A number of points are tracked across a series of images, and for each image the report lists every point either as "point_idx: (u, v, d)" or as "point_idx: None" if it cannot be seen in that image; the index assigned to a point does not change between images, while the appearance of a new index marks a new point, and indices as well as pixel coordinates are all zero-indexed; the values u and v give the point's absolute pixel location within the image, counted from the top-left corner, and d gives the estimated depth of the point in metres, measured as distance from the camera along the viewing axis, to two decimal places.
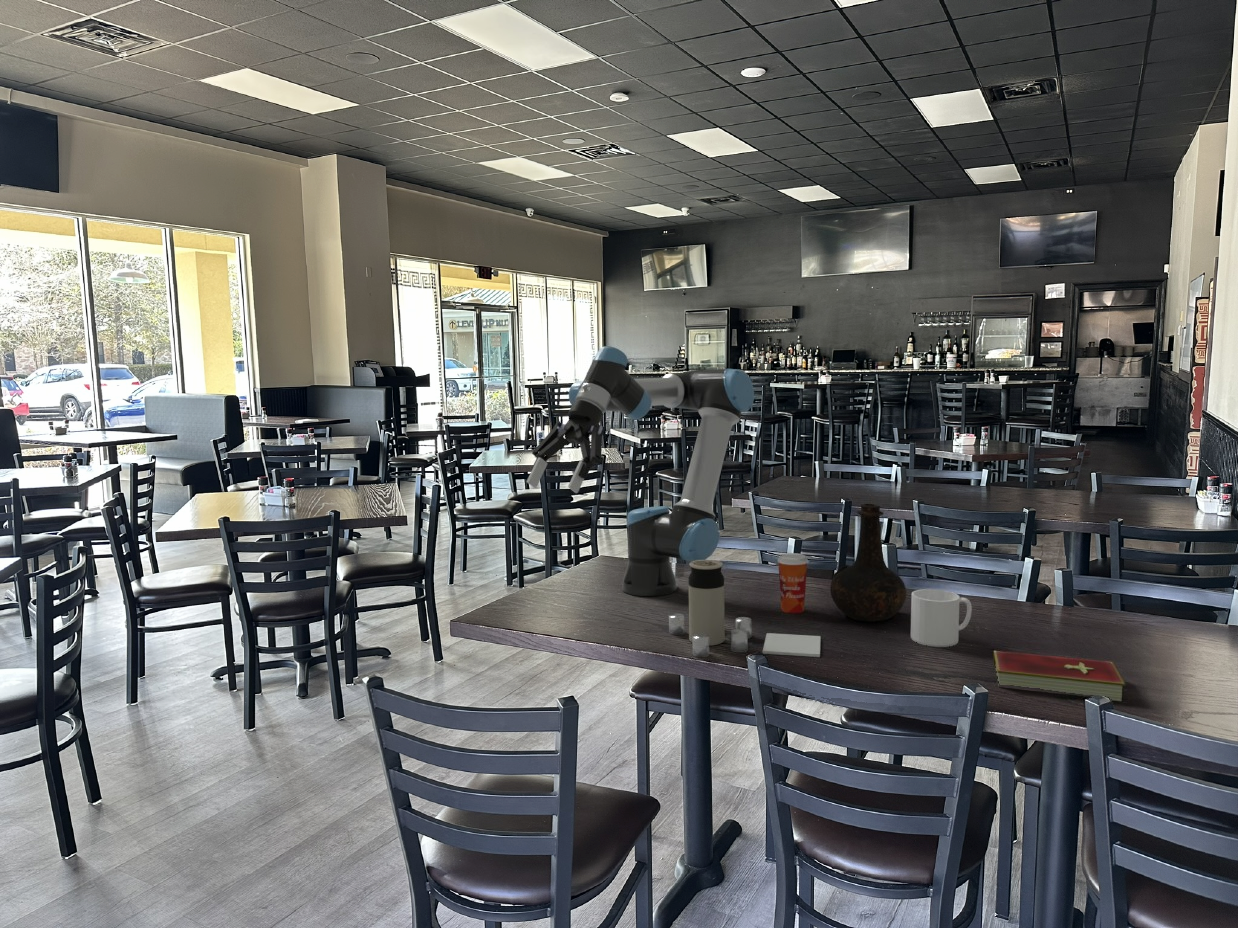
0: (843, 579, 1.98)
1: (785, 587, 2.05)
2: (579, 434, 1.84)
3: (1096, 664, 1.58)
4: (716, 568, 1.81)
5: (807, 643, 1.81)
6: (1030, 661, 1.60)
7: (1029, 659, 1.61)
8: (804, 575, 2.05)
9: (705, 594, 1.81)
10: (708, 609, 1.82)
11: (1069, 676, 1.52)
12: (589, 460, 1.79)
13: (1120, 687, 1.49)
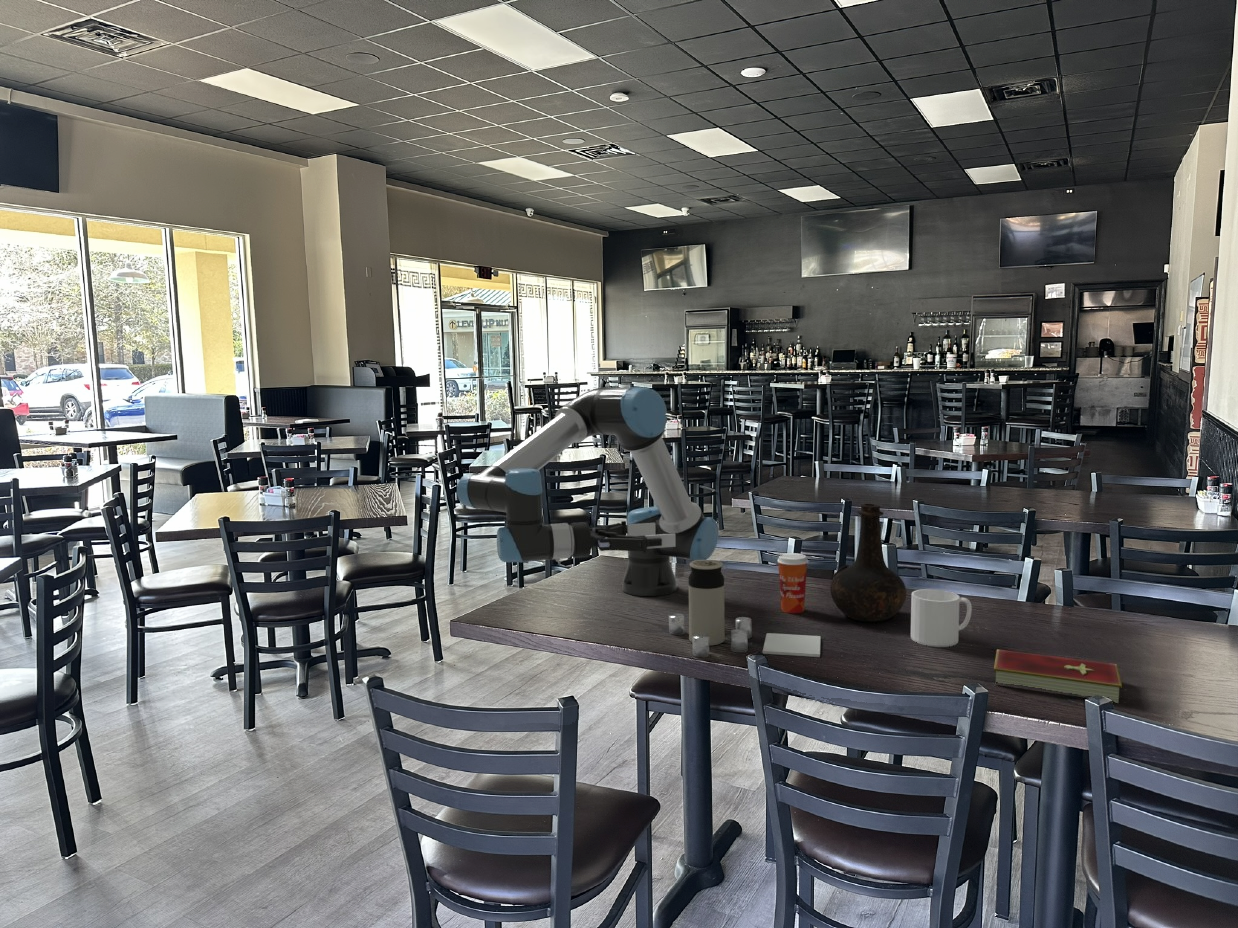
0: (843, 579, 1.98)
1: (785, 587, 2.05)
2: None
3: (1098, 666, 1.57)
4: (716, 568, 1.81)
5: (807, 643, 1.81)
6: (1031, 661, 1.60)
7: (1030, 659, 1.61)
8: (804, 575, 2.05)
9: (705, 594, 1.81)
10: (708, 609, 1.82)
11: (1065, 676, 1.52)
12: None
13: (1117, 689, 1.48)
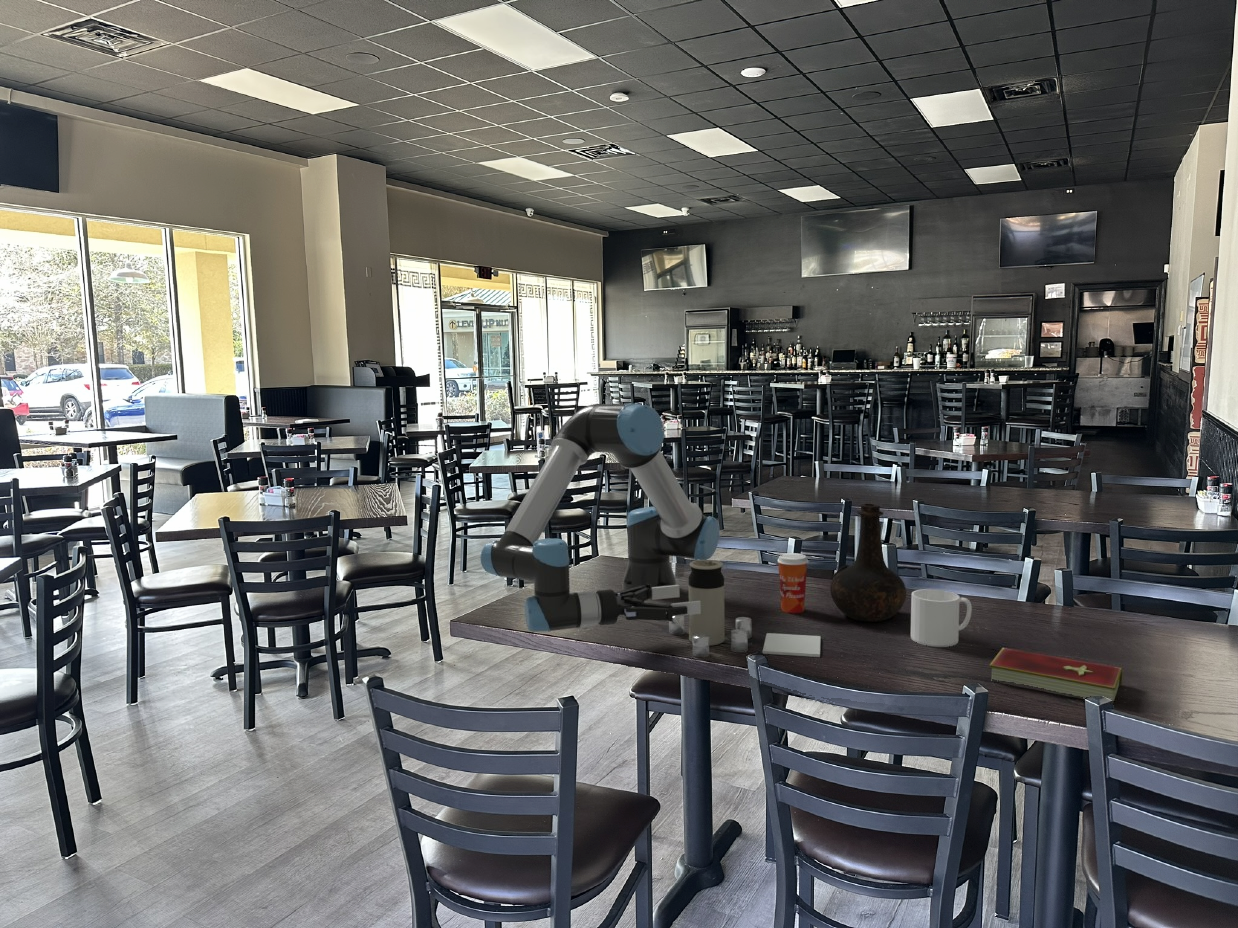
0: (843, 579, 1.98)
1: (785, 587, 2.05)
2: None
3: (1101, 668, 1.56)
4: (716, 568, 1.81)
5: (807, 643, 1.81)
6: (1032, 660, 1.61)
7: (1033, 658, 1.62)
8: (804, 575, 2.05)
9: (705, 594, 1.81)
10: (708, 609, 1.82)
11: (1060, 676, 1.52)
12: None
13: (1111, 691, 1.47)
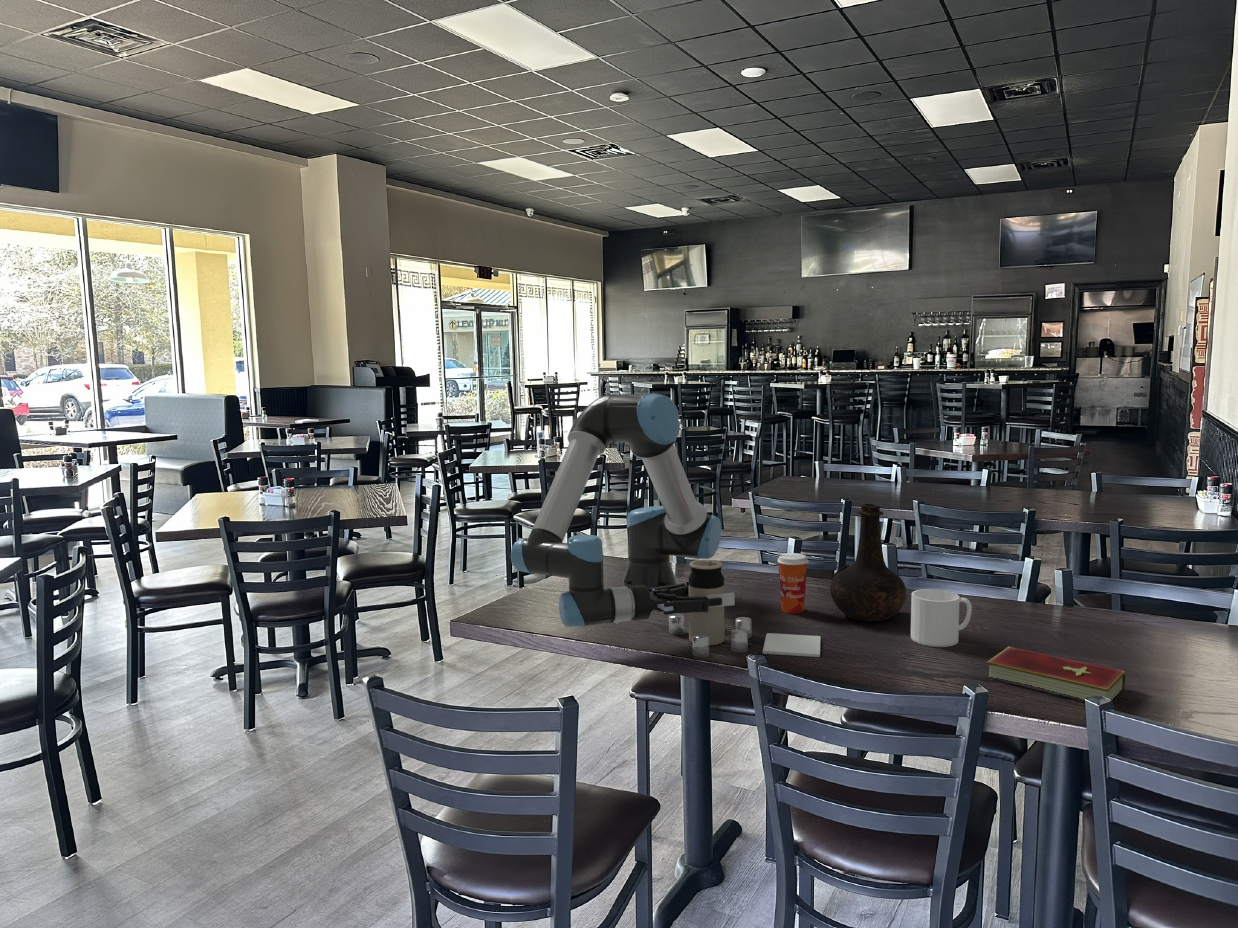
0: (843, 579, 1.98)
1: (785, 587, 2.05)
2: None
3: (1102, 670, 1.54)
4: (716, 568, 1.81)
5: (807, 643, 1.81)
6: (1033, 659, 1.61)
7: (1035, 657, 1.62)
8: (804, 575, 2.05)
9: (705, 594, 1.81)
10: (708, 609, 1.82)
11: (1055, 675, 1.53)
12: None
13: (1104, 692, 1.47)
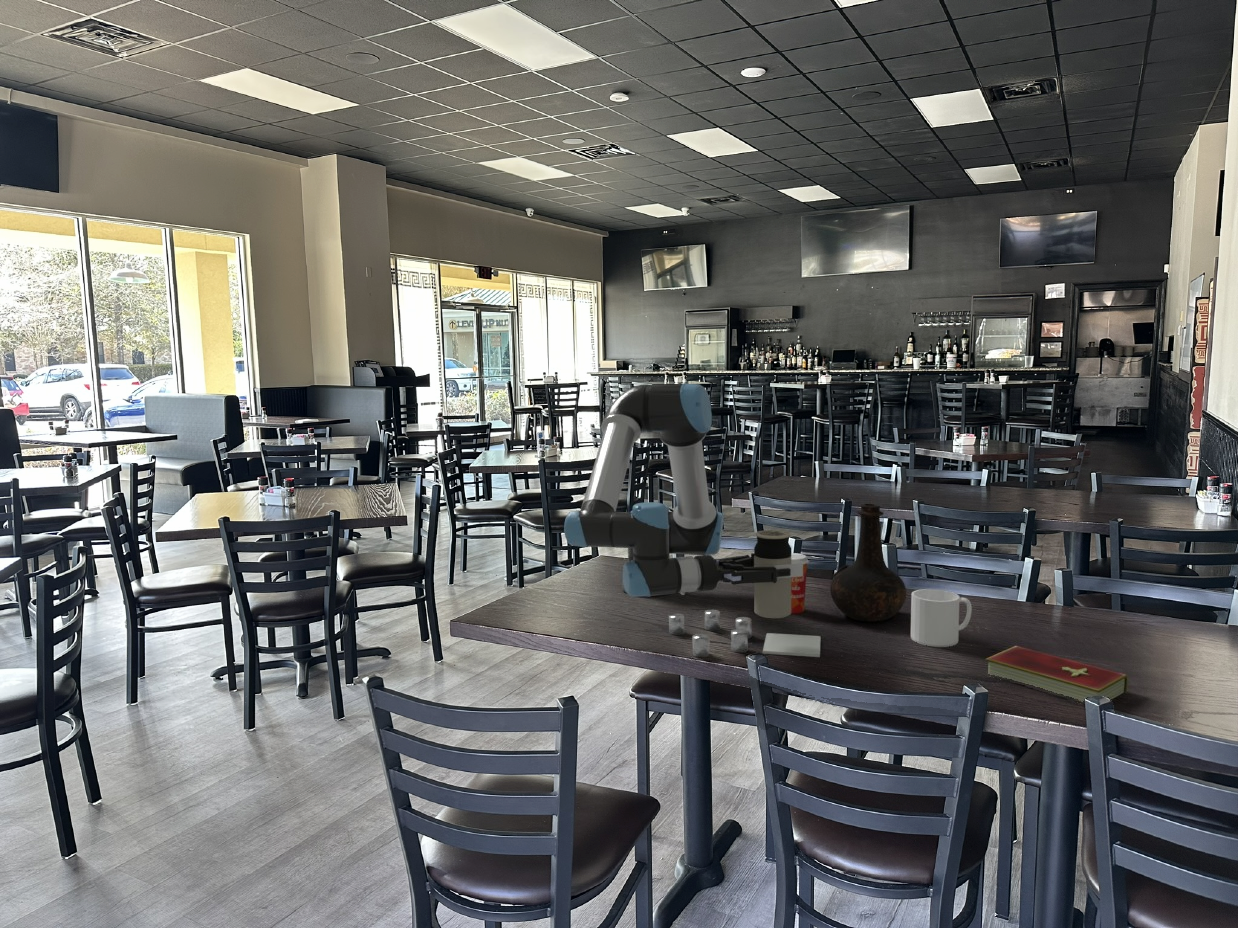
0: (843, 579, 1.98)
1: None
2: None
3: (1103, 673, 1.53)
4: (784, 538, 1.76)
5: (807, 643, 1.81)
6: (1035, 658, 1.61)
7: (1038, 657, 1.62)
8: (804, 575, 2.05)
9: (773, 565, 1.76)
10: None
11: (1050, 674, 1.53)
12: None
13: (1095, 693, 1.46)
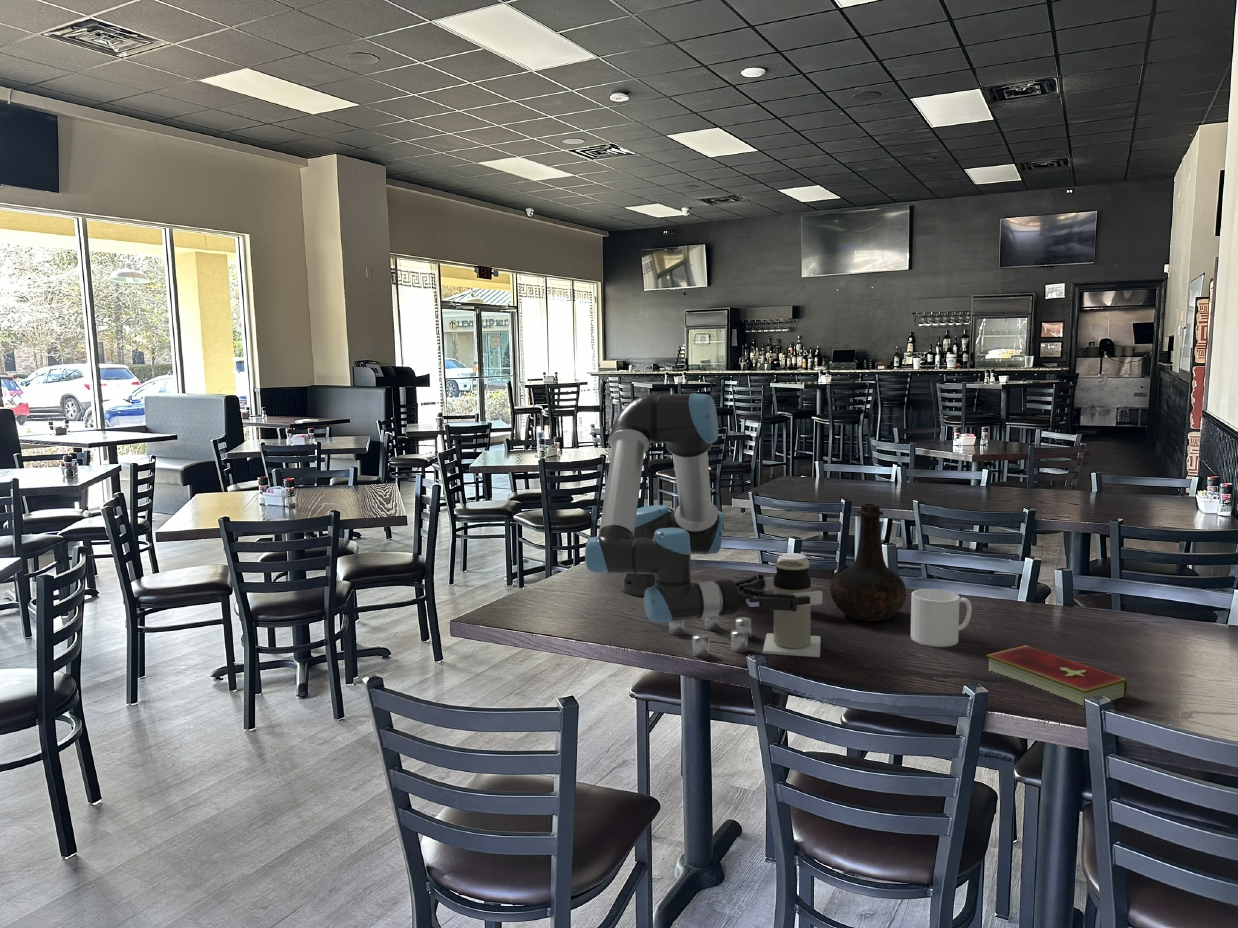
0: (843, 579, 1.98)
1: None
2: None
3: (1101, 675, 1.52)
4: (804, 569, 1.77)
5: None
6: (1038, 658, 1.62)
7: (1042, 657, 1.62)
8: None
9: None
10: (796, 611, 1.77)
11: (1044, 673, 1.54)
12: None
13: (1083, 694, 1.46)
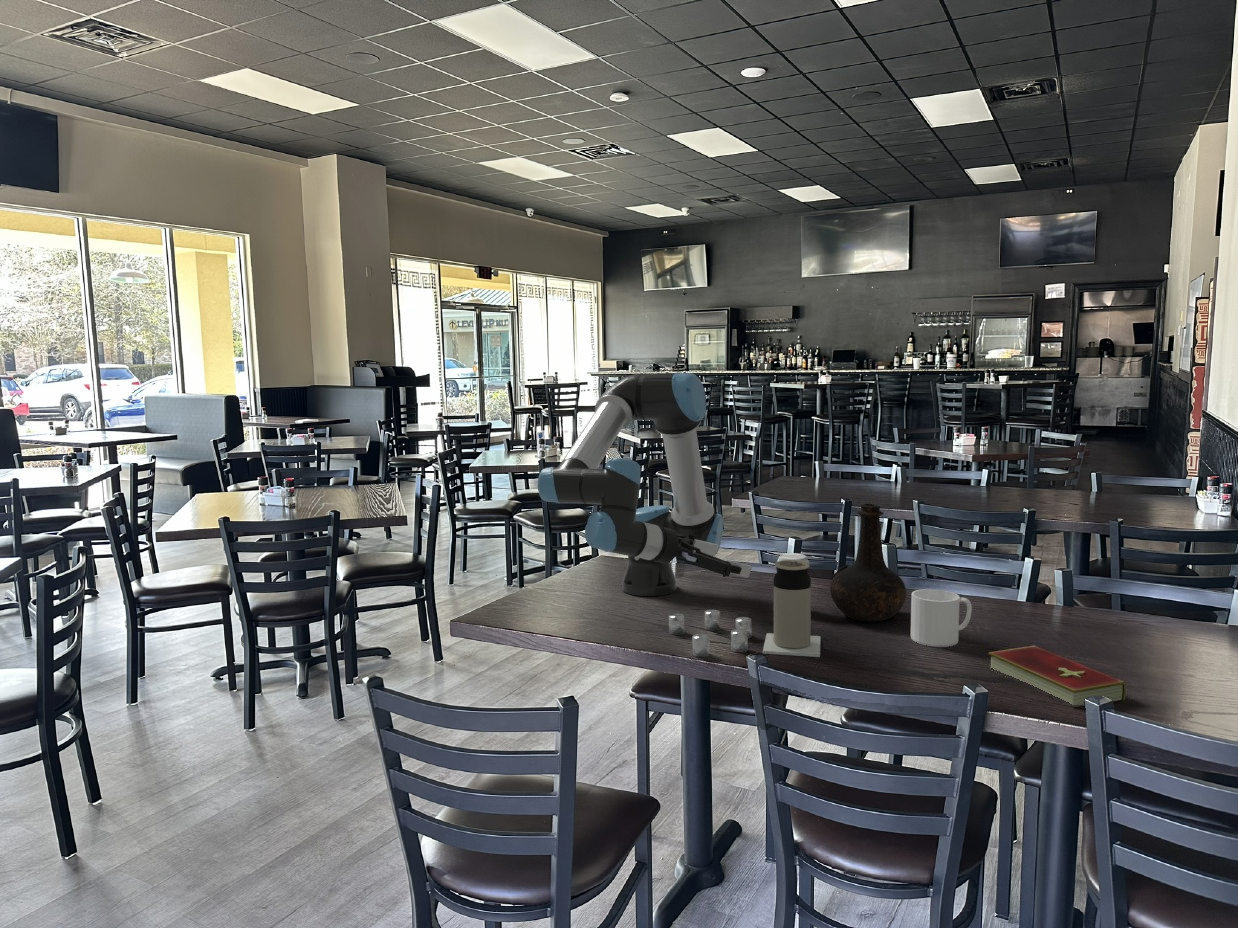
0: (843, 579, 1.98)
1: None
2: None
3: (1099, 677, 1.51)
4: (804, 569, 1.77)
5: None
6: (1040, 658, 1.62)
7: (1045, 657, 1.62)
8: None
9: (793, 596, 1.76)
10: (796, 611, 1.77)
11: (1039, 672, 1.54)
12: None
13: (1072, 693, 1.46)
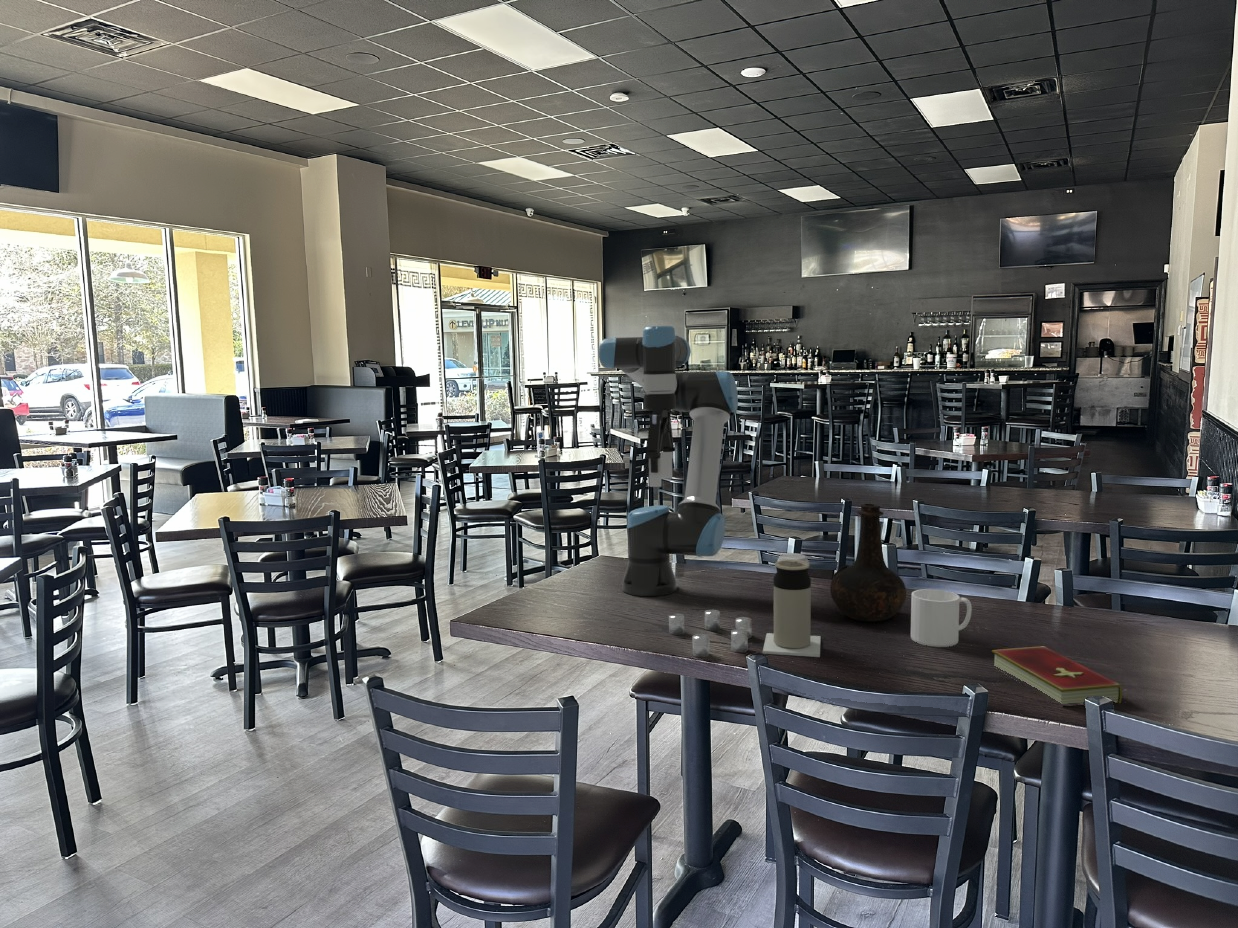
0: (843, 579, 1.98)
1: None
2: None
3: (1096, 679, 1.51)
4: (804, 569, 1.77)
5: None
6: (1043, 658, 1.62)
7: (1049, 657, 1.62)
8: None
9: (793, 596, 1.76)
10: (796, 611, 1.77)
11: (1034, 671, 1.55)
12: None
13: (1061, 692, 1.47)
